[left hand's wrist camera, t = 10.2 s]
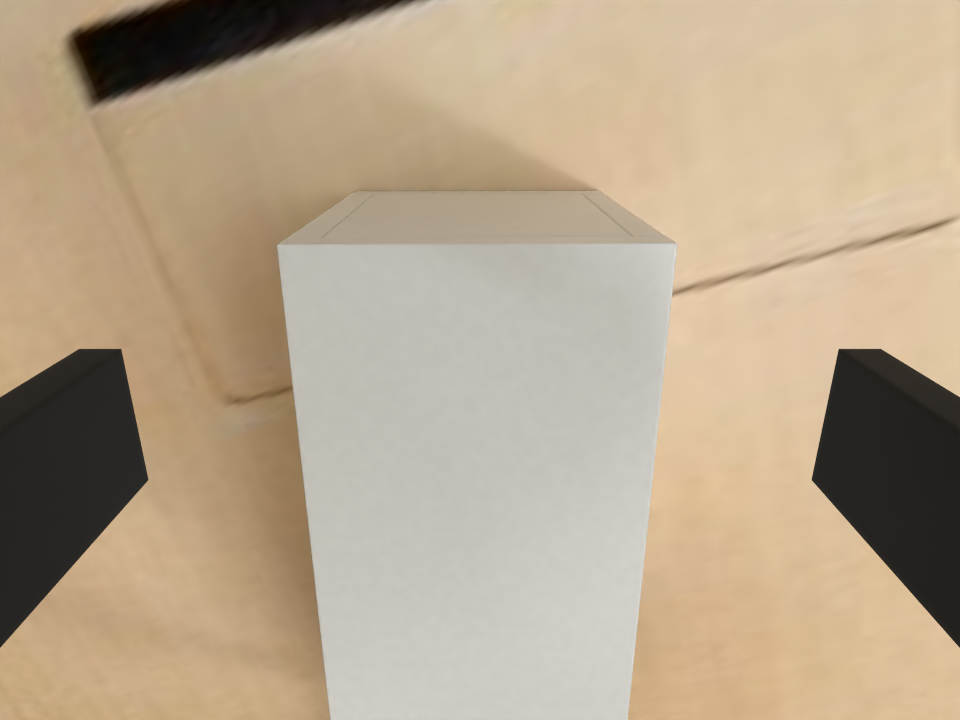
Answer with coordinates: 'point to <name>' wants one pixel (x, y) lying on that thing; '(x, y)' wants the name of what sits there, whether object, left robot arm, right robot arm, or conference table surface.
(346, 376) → the cabinet
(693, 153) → the conference table surface
